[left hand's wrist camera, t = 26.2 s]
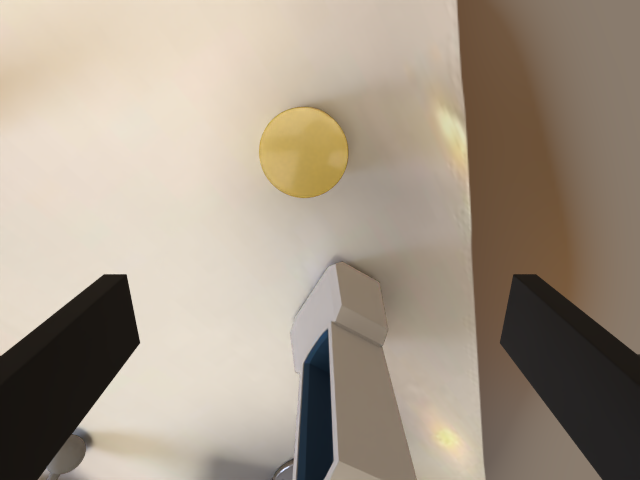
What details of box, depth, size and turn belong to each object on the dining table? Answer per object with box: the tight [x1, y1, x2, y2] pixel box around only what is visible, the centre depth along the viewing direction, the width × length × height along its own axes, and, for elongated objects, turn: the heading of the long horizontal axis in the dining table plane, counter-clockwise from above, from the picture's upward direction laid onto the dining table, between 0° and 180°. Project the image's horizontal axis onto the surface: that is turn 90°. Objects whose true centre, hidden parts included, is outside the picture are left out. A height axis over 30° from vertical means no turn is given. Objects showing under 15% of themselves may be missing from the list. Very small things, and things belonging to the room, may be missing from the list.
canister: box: [259, 107, 348, 198], centre depth 42 cm, size 9×9×10 cm
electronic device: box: [290, 262, 417, 480], centre depth 39 cm, size 12×8×30 cm, turn 149°
